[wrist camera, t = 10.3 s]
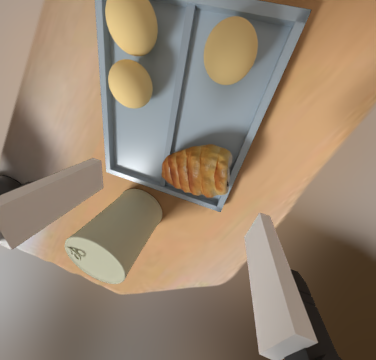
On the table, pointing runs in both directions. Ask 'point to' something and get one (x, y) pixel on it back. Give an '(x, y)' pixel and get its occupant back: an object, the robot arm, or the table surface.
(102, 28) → the sorting tray
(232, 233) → the table surface
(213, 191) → the pastry
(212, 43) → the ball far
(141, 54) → the ball
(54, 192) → the robot arm
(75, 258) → the can
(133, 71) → the ball
